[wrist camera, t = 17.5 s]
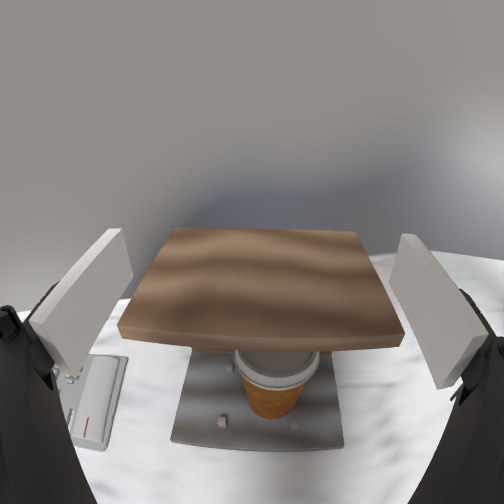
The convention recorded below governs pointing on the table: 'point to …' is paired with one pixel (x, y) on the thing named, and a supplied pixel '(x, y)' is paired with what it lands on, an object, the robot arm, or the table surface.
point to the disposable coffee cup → (274, 378)
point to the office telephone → (91, 399)
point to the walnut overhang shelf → (260, 326)
